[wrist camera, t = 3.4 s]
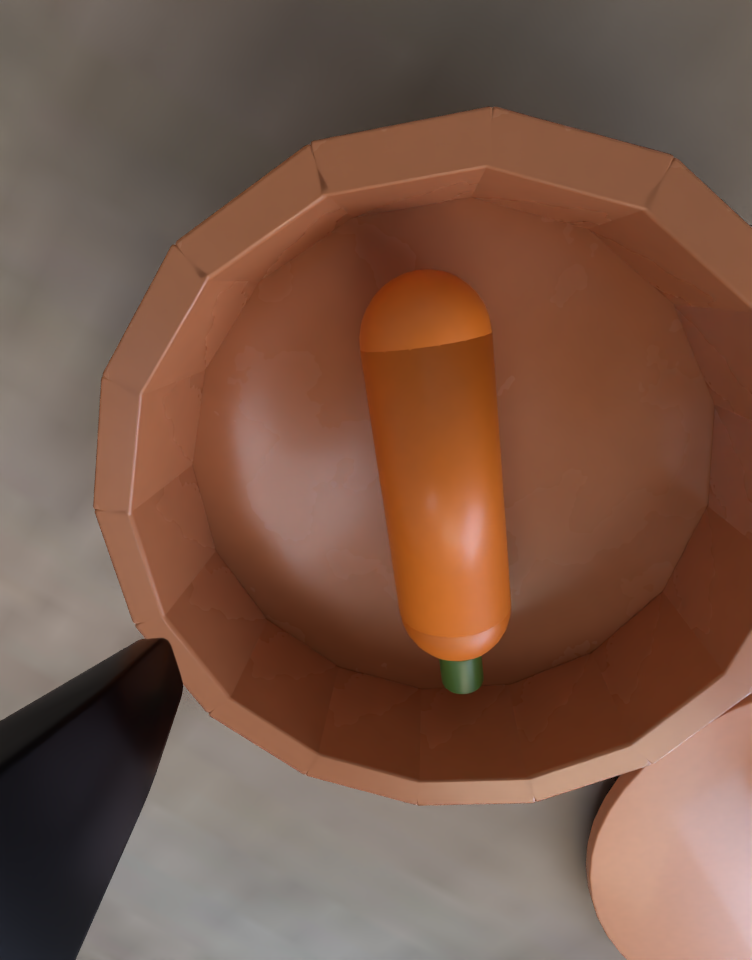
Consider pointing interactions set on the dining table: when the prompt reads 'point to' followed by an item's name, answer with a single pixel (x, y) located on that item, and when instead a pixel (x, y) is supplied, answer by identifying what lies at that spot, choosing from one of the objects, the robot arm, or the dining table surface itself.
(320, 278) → the faceted terracotta bowl
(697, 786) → the lid
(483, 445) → the carrot
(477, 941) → the dining table surface
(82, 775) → the robot arm
